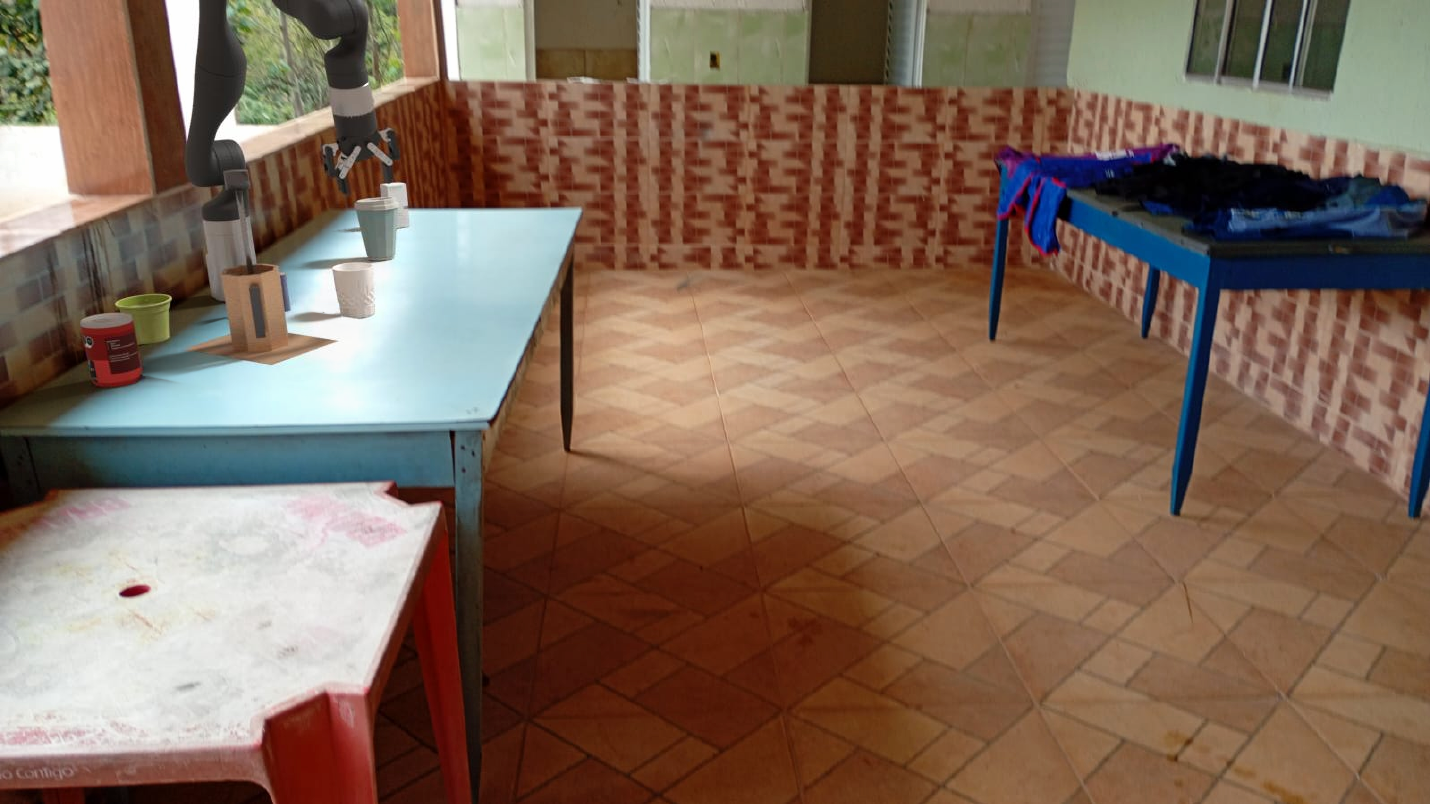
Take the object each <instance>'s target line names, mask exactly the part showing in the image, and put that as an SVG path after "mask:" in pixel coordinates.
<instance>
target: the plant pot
mask: <svg viewBox="0 0 1430 804" xmlns="http://www.w3.org/2000/svg"><path fill="white" fill-rule="evenodd" d="M172 300H173V299H172V296H171V295H169V294H162V293H149V294H139V295H134V296H129V297H125V298H122V299H119V300H116V302H115V304H114V305H115V307H117V309H118V310H119V313H127V314H130V315H132V318H133V322H134V327H135V332H136V338H137V344H138V346H139V345H143V344H144V345H149V344H155V343H160V342H164V341H166V340H169V339H170V337H171V336H170V334H171V333H170V311H169V310H170V306H171V301H172Z"/></svg>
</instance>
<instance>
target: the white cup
mask: <svg viewBox="0 0 1430 804" xmlns="http://www.w3.org/2000/svg"><path fill="white" fill-rule="evenodd" d="M331 271H332V276H333V281H334V289H335V293H336V297H337V298H336V299H337V302H338V306H339V312H340V317H342V316H343V317H342V318H348V319H349V318H351V319H356V318H357V319H363V318H364V319H365V318H369V317H371V316H374V315H375V313H376V308H375V307H376V306H375V305H376V303H375V300H376V296H375V293H376V292H375V280H374V279H375V277H374V266H373V264H372V263H370V262H363V261H362V262H345V263H340V264H339V263H338V264H336V265H334V266H332V268H331Z"/></svg>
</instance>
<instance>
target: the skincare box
mask: <svg viewBox="0 0 1430 804" xmlns="http://www.w3.org/2000/svg"><path fill="white" fill-rule="evenodd" d="M379 189H380V197H396V201H397V202H398V203H399V207H398V218H397V229H400V228H408V227H410V226H411V223H410V215H409V213H410V212H409V204H408V191H407V184H406V183H404V182H399V181H398V182H392V183H390V184H387V183H380V184H379Z"/></svg>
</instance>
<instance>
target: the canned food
mask: <svg viewBox="0 0 1430 804" xmlns="http://www.w3.org/2000/svg"><path fill="white" fill-rule="evenodd" d="M79 322H80V324H79V325H80V330H81V335H82V341H83V344H84V345H83V346H84V350H85V354H86V360H87V364H88V369H89V374H90V379H91V381H92V383H93V384H95V385H94V386H97V387H98V386H99V387H100V388H107V387H109V388H120V387H125V386H130V385H133V384H136V383H138V382H140V381H141V380H142V379H143V372H144V371H143V367H142V361H141V355H140V351H139V349H140V348H139V345H138V344H137V338H136V332H135V327H134V322H133V318H132V315H130V314H127V313H121V312H108V313H100V314H93V315H90V316H87V317H85V318H83V319H80V321H79Z"/></svg>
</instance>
